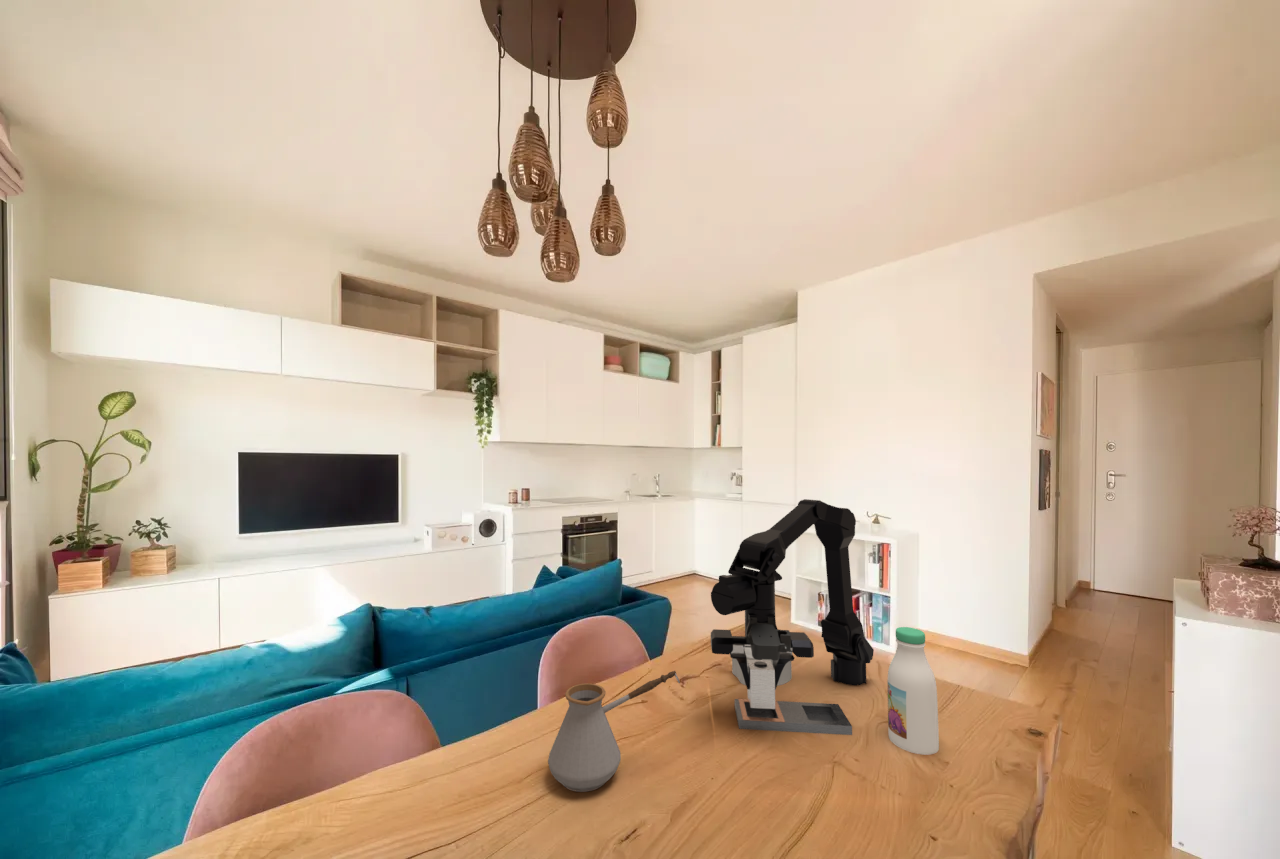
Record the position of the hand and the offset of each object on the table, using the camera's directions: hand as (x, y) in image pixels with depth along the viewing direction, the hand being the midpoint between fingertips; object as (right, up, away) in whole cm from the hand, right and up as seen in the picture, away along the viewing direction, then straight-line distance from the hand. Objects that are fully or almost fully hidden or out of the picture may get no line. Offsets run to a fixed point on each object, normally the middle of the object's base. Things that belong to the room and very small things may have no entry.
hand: (760, 688), depth 93 cm
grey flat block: (+5, -6, -1) cm, 8 cm away
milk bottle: (+25, -6, -8) cm, 27 cm away
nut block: (0, -3, 0) cm, 3 cm away
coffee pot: (-27, -6, -15) cm, 31 cm away
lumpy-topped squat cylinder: (+5, -8, +18) cm, 20 cm away
